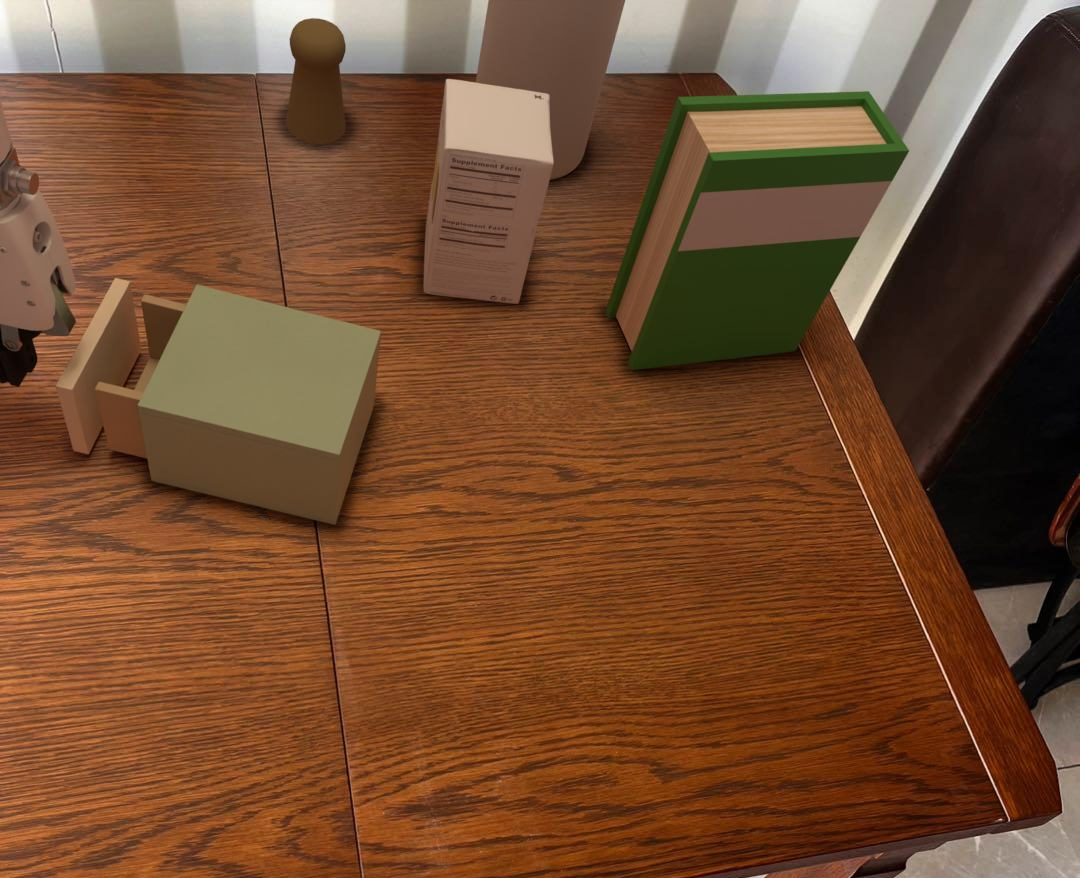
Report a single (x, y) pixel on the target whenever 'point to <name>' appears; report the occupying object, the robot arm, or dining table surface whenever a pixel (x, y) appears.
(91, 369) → the drawer
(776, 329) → the hardback book
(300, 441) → the cabinet
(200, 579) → the dining table surface
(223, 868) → the dining table surface
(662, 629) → the dining table surface
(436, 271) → the supplement box
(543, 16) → the cylinder vase
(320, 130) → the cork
